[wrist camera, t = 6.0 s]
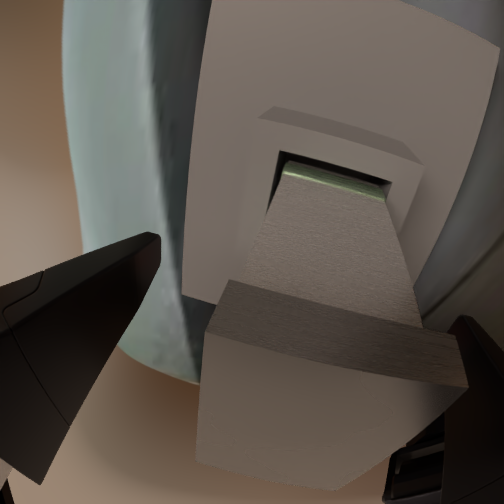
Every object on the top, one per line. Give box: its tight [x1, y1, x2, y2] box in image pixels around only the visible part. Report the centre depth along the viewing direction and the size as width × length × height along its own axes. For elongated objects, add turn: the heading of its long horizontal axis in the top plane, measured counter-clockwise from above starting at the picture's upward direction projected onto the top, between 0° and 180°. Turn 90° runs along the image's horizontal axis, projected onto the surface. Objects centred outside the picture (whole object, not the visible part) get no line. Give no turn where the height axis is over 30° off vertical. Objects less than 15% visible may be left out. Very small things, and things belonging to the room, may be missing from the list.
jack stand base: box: [182, 0, 500, 305], centre depth 14 cm, size 14×20×6 cm
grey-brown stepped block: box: [196, 160, 469, 491], centre depth 9 cm, size 4×5×9 cm
